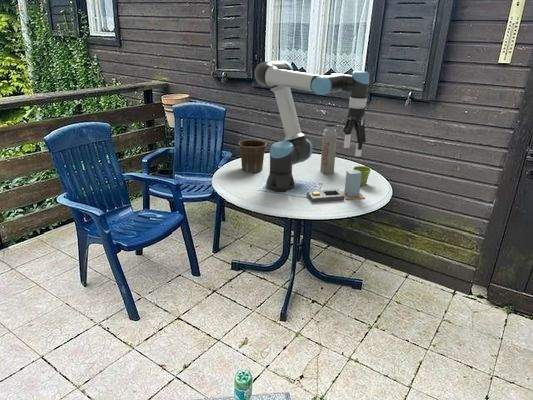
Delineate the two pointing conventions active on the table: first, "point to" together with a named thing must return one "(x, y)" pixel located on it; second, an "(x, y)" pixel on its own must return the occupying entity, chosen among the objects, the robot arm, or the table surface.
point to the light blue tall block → (352, 183)
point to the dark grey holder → (325, 195)
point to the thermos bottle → (328, 149)
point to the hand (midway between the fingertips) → (352, 151)
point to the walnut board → (353, 196)
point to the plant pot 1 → (252, 155)
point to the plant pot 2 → (363, 173)
